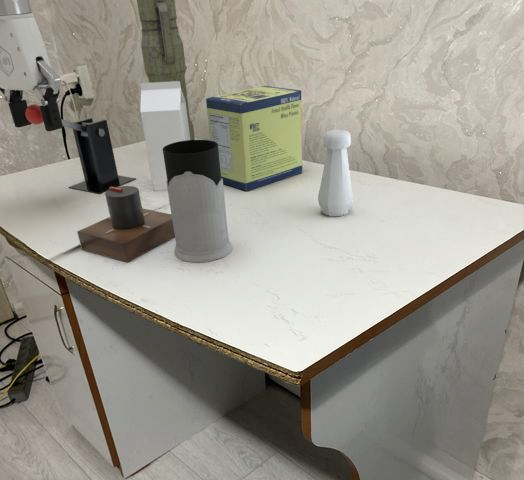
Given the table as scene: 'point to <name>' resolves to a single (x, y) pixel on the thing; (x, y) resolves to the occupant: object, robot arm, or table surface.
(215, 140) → the protein box
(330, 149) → the salt shaker
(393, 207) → the table surface
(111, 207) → the dial
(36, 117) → the lever
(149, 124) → the milk carton
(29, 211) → the table surface
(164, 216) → the dial panel
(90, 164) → the lever bracket
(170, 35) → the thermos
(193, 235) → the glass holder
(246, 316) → the table surface
